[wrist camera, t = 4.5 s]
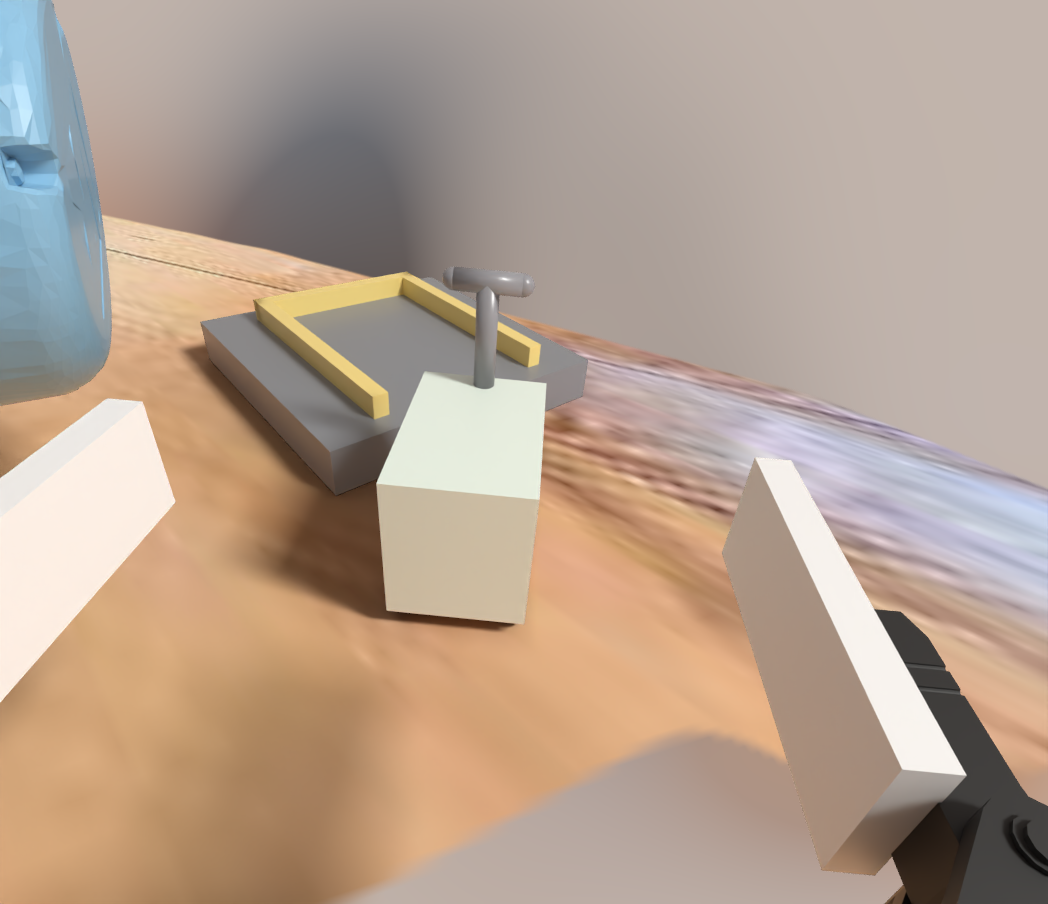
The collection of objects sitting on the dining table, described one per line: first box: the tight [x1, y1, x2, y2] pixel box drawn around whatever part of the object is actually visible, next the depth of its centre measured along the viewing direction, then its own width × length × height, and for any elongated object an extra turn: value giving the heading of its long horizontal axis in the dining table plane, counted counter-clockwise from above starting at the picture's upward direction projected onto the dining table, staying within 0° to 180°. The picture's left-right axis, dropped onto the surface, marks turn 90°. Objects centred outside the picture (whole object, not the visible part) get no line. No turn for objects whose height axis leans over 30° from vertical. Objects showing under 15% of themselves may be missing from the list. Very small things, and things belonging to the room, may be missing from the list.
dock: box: [200, 272, 588, 495], centre depth 44 cm, size 20×20×4 cm
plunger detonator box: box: [376, 267, 546, 624], centre depth 26 cm, size 6×9×14 cm, turn 176°
